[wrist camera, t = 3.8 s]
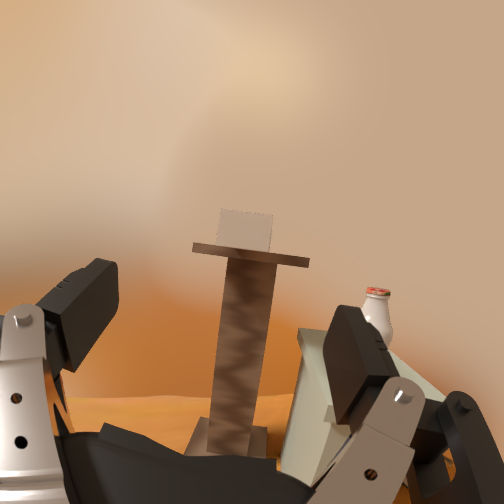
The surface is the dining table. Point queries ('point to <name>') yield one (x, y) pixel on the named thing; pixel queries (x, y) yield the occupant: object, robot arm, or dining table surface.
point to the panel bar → (244, 230)
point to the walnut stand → (239, 353)
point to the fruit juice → (378, 312)
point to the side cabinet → (322, 411)
